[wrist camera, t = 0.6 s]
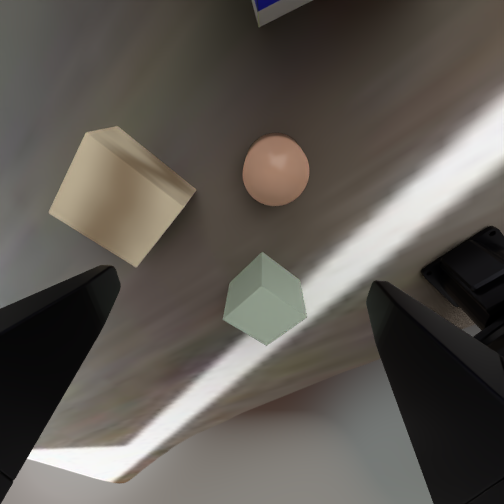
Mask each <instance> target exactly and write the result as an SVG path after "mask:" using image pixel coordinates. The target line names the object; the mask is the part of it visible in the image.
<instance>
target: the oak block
mask: <svg viewBox="0 0 504 504" xmlns="http://www.w3.org/2000/svg"><path fill="white" fill-rule="evenodd" d="M195 191H196V189H195V188H194V187H192V186H191V185H190V184H189V183H187V182H186V181H185V180H184V179H183V178H181V177H180V176H179V175H178V174H176V173H175V172H174V171H173V170H171V169H170V168H169V167H168V166H166V165H165V164H164V163H163V162H161V161H160V160H159V159H158V158H156V157H155V156H154V155H153V154H151V153H150V152H149V151H148V150H147V149H145V148H144V147H143V146H142V145H140V144H139V143H138V142H137V141H135V140H134V139H133V138H132V137H130V136H129V135H128V134H127V133H125V132H124V131H123V130H122V129H120V128H119V127H118V126H115V127H110V128H105V129H100V130H95V131H91V132H86V134H85V136H84V138H83V140H82V142H81V144H80V147H79V149H78V151H77V153H76V155H75V157H74V159H73V161H72V164H71V166H70V168H69V170H68V172H67V174H66V176H65V178H64V181H63V183H62V185H61V187H60V189H59V191H58V193H57V195H56V198H55V200H54V202H53V204H52V206H51V208H50V210H49V214H51V215H53V216H54V217H56V218H57V219H59V220H61V221H62V222H64V223H65V224H67V225H69V226H70V227H72V228H73V229H75V230H77V231H78V232H80V233H81V234H83V235H85V236H86V237H88V238H89V239H91V240H93V241H94V242H96V243H97V244H99V245H101V246H102V247H104V248H105V249H107V250H109V251H110V252H112V253H114V254H115V255H117V256H118V257H120V258H122V259H123V260H125V261H126V262H128V263H130V264H131V265H133V266H134V267H137V266H138V265H139V264H140V262H141V261H142V260H143V259H144V257H145V256H146V255H147V254H148V252H149V251H150V250H151V249H152V247H153V246H154V245H155V243H156V242H157V241H158V240H159V238H160V237H161V236H162V235H163V233H164V232H165V231H166V230H167V228H168V227H169V226H170V224H171V223H172V222H173V221H174V219H175V218H176V217H177V216H178V214H179V213H180V212H181V211H182V209H183V208H184V207H185V205H186V204H187V203H188V201H189V200H190V198H191V197H192V196H193V194H194V193H195Z"/></svg>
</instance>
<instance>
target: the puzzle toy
mask: <svg viewBox="0 0 504 504" xmlns="http://www.w3.org/2000/svg"><path fill="white" fill-rule="evenodd" d="M251 1H252V4H253V8H254V12H255V15H256V19H257V23H258V26H259V27H261V26H263V25H265V24H267V23H269V22H271V21H273V20H275V19H277V18H279V17H281V16H283V15H285V14H287V13H289V12H291V11H293V10H295V9H297V8H299V7H301V6H303V5H304V4H306V3H308V2H310V1H312V0H251Z"/></svg>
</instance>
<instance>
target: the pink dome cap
mask: <svg viewBox="0 0 504 504" xmlns="http://www.w3.org/2000/svg"><path fill="white" fill-rule="evenodd" d="M308 179H309V163H308V160H307V158H306V156H305V154H304V152H303V151H302V149H301V148H300V146H299V145H298V144H297V142H296V141H295V140H294V139H292V138H291V137H290V136H288V135H285V134H282V133H269V134H266V135H263V136H261V137H260V138H258V139H257V140H256V141H255V142H254V143H253V144H252V145H251V147H250V148H249V150H248V153H247V156H246V159H245V162H244V166H243V181H244V185H245V187H246V189H247V191H248V193H249V194H250V195H251V196H252V197H253V198H254V199H255V200H257V201H258V202H260V203H262V204H265V205H269V206H281V205H285V204H288V203H290V202H292V201H293V200H295V199H296V198H297V197H298V196H299V195H300V194H301V193H302V192H303V190H304V189H305V187H306V185H307V182H308Z"/></svg>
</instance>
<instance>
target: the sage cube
mask: <svg viewBox="0 0 504 504" xmlns="http://www.w3.org/2000/svg"><path fill="white" fill-rule="evenodd" d="M305 318H307V314H306V309H305V304H304V299H303V294H302V288H301V283H300V280H299V279H298V278H296V277H295V276H294V275H292V274H291V273H290V272H288V271H287V270H286V269H284V268H283V267H282V266H280V265H279V264H278V263H276V262H275V261H274V260H272V259H271V258H270V257H268V256H267V255H266V254H264V253H263V252H261V253H260V254H259V255H258V256H257V257H256V258H255V259H254V260H253V261H252V262H251V263H250V264H249V265H248V266H247V267H246V268H245V269H244V270H243V271H241V272H240V273H239V274H238V275H237V276H236V277H235V278H234V279H233V280H232V281H231V282H230V283H229V289H228V294H227V299H226V305H225V310H224V316H223V320H224V321H226V322H228V323H229V324H231V325H233V326H234V327H236V328H238V329H239V330H241V331H243V332H244V333H246V334H248V335H249V336H251V337H253V338H254V339H256V340H258V341H259V342H261V343H263V344H264V345H266V346H267V345H268V344H270V343H271V342H273V341H274V340H276V339H277V338H278V337H280V336H281V335H283V334H284V333H285V332H287V331H288V330H290V329H291V328H293V327H294V326H295V325H297V324H298V323H300V322H301V321H303V320H304V319H305Z"/></svg>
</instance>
